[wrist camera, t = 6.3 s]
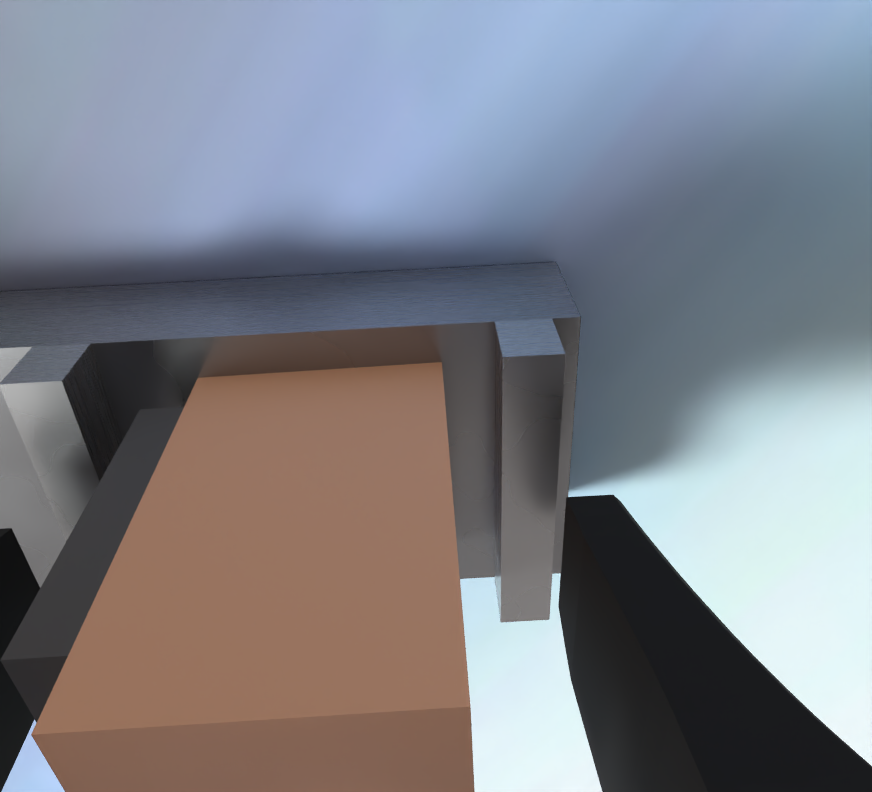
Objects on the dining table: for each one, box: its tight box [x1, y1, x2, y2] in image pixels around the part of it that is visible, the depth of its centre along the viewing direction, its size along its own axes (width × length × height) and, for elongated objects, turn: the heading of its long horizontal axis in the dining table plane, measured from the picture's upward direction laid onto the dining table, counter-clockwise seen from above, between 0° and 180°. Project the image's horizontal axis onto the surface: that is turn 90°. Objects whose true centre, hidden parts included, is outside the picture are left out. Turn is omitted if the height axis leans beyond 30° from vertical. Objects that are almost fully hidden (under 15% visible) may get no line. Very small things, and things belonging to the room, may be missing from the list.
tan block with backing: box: [0, 362, 474, 792], centre depth 9 cm, size 4×4×6 cm
